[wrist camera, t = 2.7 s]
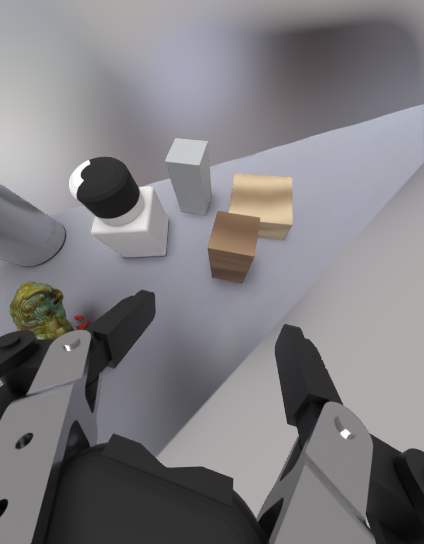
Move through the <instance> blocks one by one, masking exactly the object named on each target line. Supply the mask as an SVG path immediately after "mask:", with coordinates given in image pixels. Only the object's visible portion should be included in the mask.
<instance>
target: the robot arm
mask: <svg viewBox="0 0 424 544" xmlns="http://www.w3.org/2000/svg"><path fill="white" fill-rule="evenodd" d="M64 239H65V230H64V228H63V226H62V225H61V224H60V223H59V222H57V221H56V220H54V219H53V218H51V217H50V216H48V215H47V214H45V213H44V212H42V211H41V210H39V209H37V208H36V207H34V206H33V205H32V204H30V203H29V202H27V201H26V200H24V199H23V198H21V197H20V196H18V195H16V194H15V193H14V192H12V191H11V190H9V189H8V188H6V187H5V186H3V185H1V184H0V259H1V260H5V261H8V262H11V263H14V264H17V265H20V266H26V267H29V266H35V265H39V264H41V263H43V262H45V261H47V260H48V259H50V258H51V257H52V256H54V255H55V254H56V253H57V251H58V250H59V249H60V248H61V246H62V244H63V242H64ZM154 316H155V294H154V293H153V292H149V291H145V290H141V291H139V292H138V293H137V294H136V295H134V296H130V297H128V298H125V299H123V300H122V301H120V302H119V303H118V304H117V305H116V306H114V307H113V308H112V309H110V311H108V312H107V313H105V314H104V315H103V316H102V317H100V318H99V319H98V320H97V321H95V322H94V323H93V324H92V325H90V326H89V327H88V328H87V329H85V330H75V331H71V332H68V333H66V334H64V335H62V336H60V337H59V338H57V339H37V338H36V336H35V334H34V332H32V331H30V330H21V331H16V332H12V333H9V334H6V335H4V336H1V337H0V380H1V381H2V382H3V384H4V385H2V386H1V387H0V544H424V452H423V451H421V450H418V449H412V448H411V449H408V450H406V451H405V452H403V453H401V452H400V451H398V450H396V449H394V448H393V447H391V446H389V445H388V444H386V443H384V442H383V441H381V440H380V439H378V438H376V437H375V436H373V435H371V434H370V433H369V432H368V430H367V429H366V427H365V426H364V424H363V423H362V422H361V420H360V419H359V418H358V417H357V416H356V415H355V414H354V413H353V412H352V411H351V410H349V409H348V408H346V407H345V406H344V405H343V403H342V401H341V399H340V397H339V395H338V393H337V390H336V388H335V386H334V384H333V382H332V380H331V378H330V376H329V373H328V371H327V369H326V368H325V365H324V363H323V360H321V356H320V354H319V352H318V350H317V348H316V347H315V346H314V344H313V343H312V342H311V341H310V340H309V339H305V338H304V335H303V333H302V330H301V328H299V327H296V326H292V325H287V324H285V325H284V326H283V328H282V330H281V333H280V335H279V337H278V339H277V342H276V345H275V357H276V362H277V367H278V374H279V379H280V384H281V391H282V396H283V402H284V407H285V413H286V419H287V424H289V425H293V426H296V427H297V429H298V434H299V436H298V437H297V439H296V441H295V443H294V446H293V448H292V450H291V452H290V454H289V456H288V458H287V460H286V462H285V464H284V467H283V469H282V471H281V473H280V475H279V477H278V479H277V481H276V483H275V485H274V487H273V488H272V490H271V491H270V493H269V495H268V496H267V498H266V500H265V502H264V504H263V506H262V508H261V510H260V512H259V514H258V516H257V519H256V518H255V516H254V514H253V513H252V511H251V510H250V508H249V507H248V506H247V504H246V503H245V501H244V500H243V499H242V498H241V497H240V496H239V495H238V494H237V493H236V492H235V491H234V490H233V478H231V477H228V476H225V475H223V474H220V473H217V472H215V471H212V470H210V469H206V468H204V467H177V468H167V467H165V466H164V465H162V464H161V463H160V462H159V461H158V460H157V459H156V458H155V457H154V456H153V455H152V454H151V453H150V452H149V451H148V450H147V449H146V448H145V447H144V446H143V445H141V444H140V443H138V442H135V441H132V440H130V439H127V438H124V437H122V436H119V435H116V434H114V433H113V435H112V437H111V438H110V440H109V442H108V443H103V444H98V445H97V410H98V402H99V394H100V387H101V379H102V371H103V370H104V368H105V367H106V366H108V367H111V368H115V367H116V366H117V365H118V364H119V362H120V361H121V360H122V359H123V357H124V356H125V355H126V354H127V352H128V351H129V350H130V349H131V347H132V346H133V345H134V343H135V342H136V341H137V340H138V338H139V337H140V336H141V335H142V333H143V332H144V331H145V330H146V328H147V327H148V326H149V325H150V323H151V322H152V321H153V319H154ZM365 516H366V517H367V520H368V523H369V526H370V528H369V527H368V526H367V524H366V518H365Z"/></svg>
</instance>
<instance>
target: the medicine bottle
mask: <svg viewBox="0 0 424 544" xmlns="http://www.w3.org/2000/svg"><path fill="white" fill-rule="evenodd" d="M69 188H70V192H71V194H72V195H73V196H74V197H75V198H76V199H77V200H78V201H79V202H80V203H81V204H83V205H84V206H85V207H86V208H87V209H88V210H89V211H90V212H91V213H92V214H94V215H95V218H94V222H93V225H92V229H91V234H92V235H94V236H95V237H96V238H98V239H99V240H100V241H102V242H103V243H104V244H106V245H107V246H108V247H110V248H111V249H113V250H114V251H115V252H117V253H118V254H119V255H121V256H122V257H124V258H127V257H148V256H165V255H166V247H167V234H168V222H169V220H168V217H167V215H166V213H165V211H164V209H163V207H162V205H161V203H160V201H159V199H158V196H157V194H156V192H155V190H154V188H153V187H151V186H149V187H138V186H137V184H136V182H135V181H134V179H133V177H132V176H131V174H130V172H129V170H128V169H127V167H126V165H125V164H124V163H123V162H121V161H119V160H117V159H115V158H112V157H98V158H94V159H91V160H88V161H86V162H84V163H83V164H81V165H80V166H79V167H78V168H77V169H76V170H75V171H74V172H73V173H72V175H71V177H70V180H69Z"/></svg>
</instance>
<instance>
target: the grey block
mask: <svg viewBox="0 0 424 544" xmlns="http://www.w3.org/2000/svg"><path fill="white" fill-rule="evenodd" d="M165 164H166V167H167V169H168V173H169V175H170V179H171V182H172V185H173V188H174V191H175V194H176V197H177V200H178V203H179V206H180V209H181V212H187V213H193V214H200V215H206V213H207V210H208V207H209V203H210V200H211V197H212V193H211V179H210V165H209V151H208V141H199V140H198V141H197V140H188V139H177V138H176V139H175V141H174V143H173V145H172V147H171V149H170V151H169V153H168V156H167V158H166V160H165Z"/></svg>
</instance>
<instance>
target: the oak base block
mask: <svg viewBox="0 0 424 544" xmlns="http://www.w3.org/2000/svg"><path fill="white" fill-rule="evenodd" d="M229 213H234V214H240V215H247V216H254V217H260V224H259V231H258V237H265V238H274V239H283V238H284V237H285V235H286V234H287V232H288V231H289V229H290V228H291V226H292V225H293V224H292V177H278V176H262V175H247V174H235V175H234V182H233V188H232V194H231V201H230V207H229Z"/></svg>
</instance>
